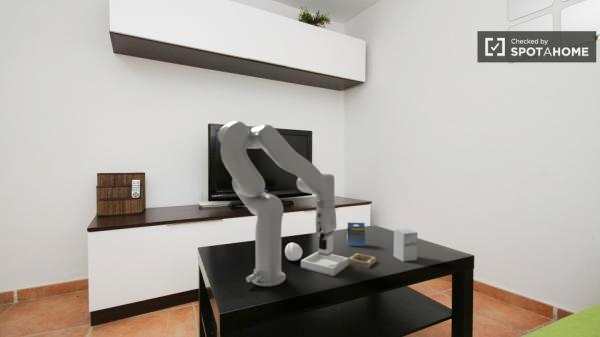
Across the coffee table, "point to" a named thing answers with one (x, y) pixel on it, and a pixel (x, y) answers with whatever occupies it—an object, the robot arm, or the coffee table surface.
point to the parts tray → (325, 263)
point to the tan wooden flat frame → (368, 258)
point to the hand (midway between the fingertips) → (325, 246)
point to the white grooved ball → (293, 251)
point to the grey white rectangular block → (327, 245)
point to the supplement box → (405, 244)
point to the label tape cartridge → (356, 234)
